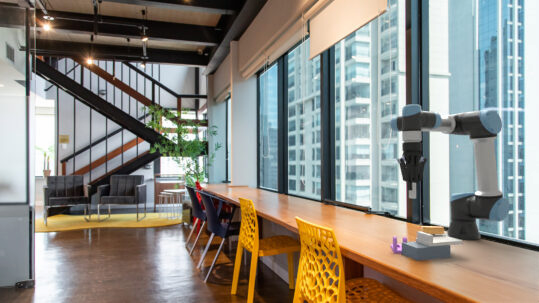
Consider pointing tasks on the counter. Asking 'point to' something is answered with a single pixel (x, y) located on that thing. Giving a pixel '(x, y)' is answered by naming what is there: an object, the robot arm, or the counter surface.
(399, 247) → the bracket
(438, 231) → the key
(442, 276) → the counter surface
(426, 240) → the cover
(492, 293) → the counter surface
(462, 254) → the counter surface
